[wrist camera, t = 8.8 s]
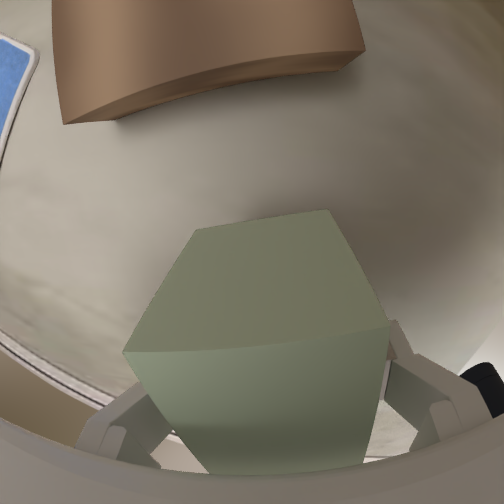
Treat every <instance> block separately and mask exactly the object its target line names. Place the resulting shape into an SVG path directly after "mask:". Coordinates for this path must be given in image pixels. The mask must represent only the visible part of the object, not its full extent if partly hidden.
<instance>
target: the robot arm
mask: <svg viewBox="0 0 504 504" xmlns="http://www.w3.org/2000/svg"><path fill="white" fill-rule="evenodd" d="M389 323H390V325H391V327H390V336H389V343H388V351H387V358H386V364H385V370H384V376H383V381H382V387H381V392H380V397H379V400H383V399H384V401H385V402H386V403H388V404H389V405H390V406H391V407H392V408H393V409H394V410H395V411H397V412H398V413H399V414H400V415H401V416H402V417H403V418H404V419H406V420H407V421H408V422H409V423H410V424H411V425H412V426H413V427H415V428H416V429H417V430H418V433H417V435H416V437H415V439H414V441H413V443H412V445H411V447H410V448H409V451H410V452H408V453H404V454H401V455H397V456H393V457H389V458H385V459H381V460H377V461H373V462H368V463H363V464H358V465H353V466H347V467H342V468H335V469H328V470H321V471H313V472H303V473H291V474H275V475H220V474H203V473H192V472H182V471H174V470H167V469H161V465H160V464H159V463H158V462H157V461H156V460H155V459H154V458H153V457H152V456H151V455H150V453H152V452H153V451H154V449H155V448H156V447H157V446H158V445H159V444H160V443H161V442H162V441H163V440H164V439H165V438H166V437H167V436H168V434H169V433H170V432H171V431H172V430H173V428H172V427H171V426H170V424H169V423H168V422H167V420H166V419H165V418H164V416H163V415H162V413H161V412H160V411H159V409H158V408H157V406H156V405H155V403H154V402H153V401H152V399H151V398H150V396H149V395H148V393H147V392H146V390H145V389H144V387H143V385H142V384H141V382H137V383H136V384H135V385H133V386H132V387H131V388H129V389H128V390H127V391H125V392H124V393H123V394H121V395H120V396H119V397H117V398H116V399H115V400H113V401H112V402H111V403H109V404H108V405H107V406H105V407H104V408H102V409H101V410H100V411H98V412H97V413H96V414H94V415H93V416H92V417H90V418H89V419H88V420H87V422H86V424H85V426H84V428H83V431H82V432H81V435H80V437H79V439H78V441H77V443H76V445H75V447H74V448H72V447H69V446H66V445H63V444H60V443H58V442H55V441H52V440H49V439H47V438H44V437H42V436H39V435H37V434H34V433H32V432H29V431H27V430H25V429H23V428H21V427H19V426H16V425H14V424H12V423H10V422H8V421H6V420H4V419H2V418H0V504H504V414H502V415H500V416H498V417H496V418H494V419H493V418H492V416H491V414H490V412H489V410H488V407H487V405H486V403H485V401H484V399H483V398H482V396H481V394H480V392H479V390H478V388H477V386H475V385H473V384H472V383H470V382H468V381H466V380H465V379H463V378H461V377H459V376H457V375H456V374H454V373H452V372H450V371H449V370H447V369H445V368H443V367H442V366H440V365H438V364H436V363H434V362H433V361H431V360H429V359H427V358H426V357H424V356H422V355H420V354H415V355H414V353H413V351H412V349H411V347H410V345H409V343H408V341H407V339H406V337H405V335H404V333H403V331H402V329H401V327H400V325H399V323H398V321H396V320H391V321H389Z"/></svg>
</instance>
